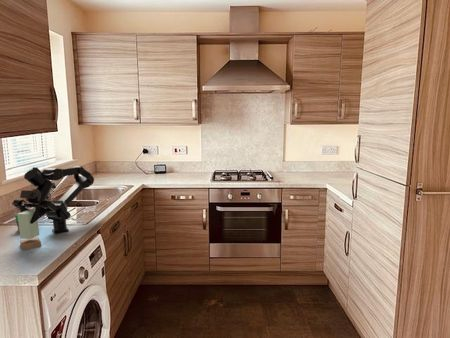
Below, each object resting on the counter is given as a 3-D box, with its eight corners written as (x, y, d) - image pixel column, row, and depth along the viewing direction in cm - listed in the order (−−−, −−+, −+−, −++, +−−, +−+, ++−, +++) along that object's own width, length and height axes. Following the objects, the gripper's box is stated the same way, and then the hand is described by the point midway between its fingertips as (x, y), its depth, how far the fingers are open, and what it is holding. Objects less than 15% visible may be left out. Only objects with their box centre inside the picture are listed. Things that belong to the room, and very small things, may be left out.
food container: (26, 231, 159) (24, 212, 157) (15, 231, 160) (13, 211, 158) (44, 223, 171) (42, 205, 169) (34, 223, 172) (32, 204, 170)
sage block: (29, 234, 144) (26, 210, 142) (39, 234, 143) (36, 210, 141) (20, 238, 139) (17, 213, 137) (30, 239, 138) (27, 214, 136)
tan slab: (20, 245, 142) (20, 240, 142) (38, 242, 146) (38, 236, 146) (22, 250, 137) (21, 245, 136) (41, 246, 141) (40, 241, 140)
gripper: (12, 181, 143) (-7, 213, 134) (49, 182, 139) (32, 215, 130) (29, 194, 152) (12, 225, 143) (63, 196, 148) (48, 227, 139)
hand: (25, 223), depth 138 cm, fingers closed on sage block, 5 cm apart
